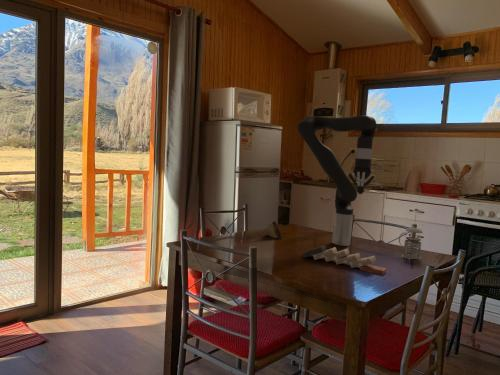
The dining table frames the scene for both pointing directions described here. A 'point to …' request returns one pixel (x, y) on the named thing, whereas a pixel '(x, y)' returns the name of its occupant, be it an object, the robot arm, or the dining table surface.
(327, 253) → the domino
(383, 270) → the domino
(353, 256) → the domino
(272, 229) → the rock
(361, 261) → the domino
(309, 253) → the domino
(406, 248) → the french press
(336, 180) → the robot arm
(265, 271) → the dining table surface
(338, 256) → the domino
